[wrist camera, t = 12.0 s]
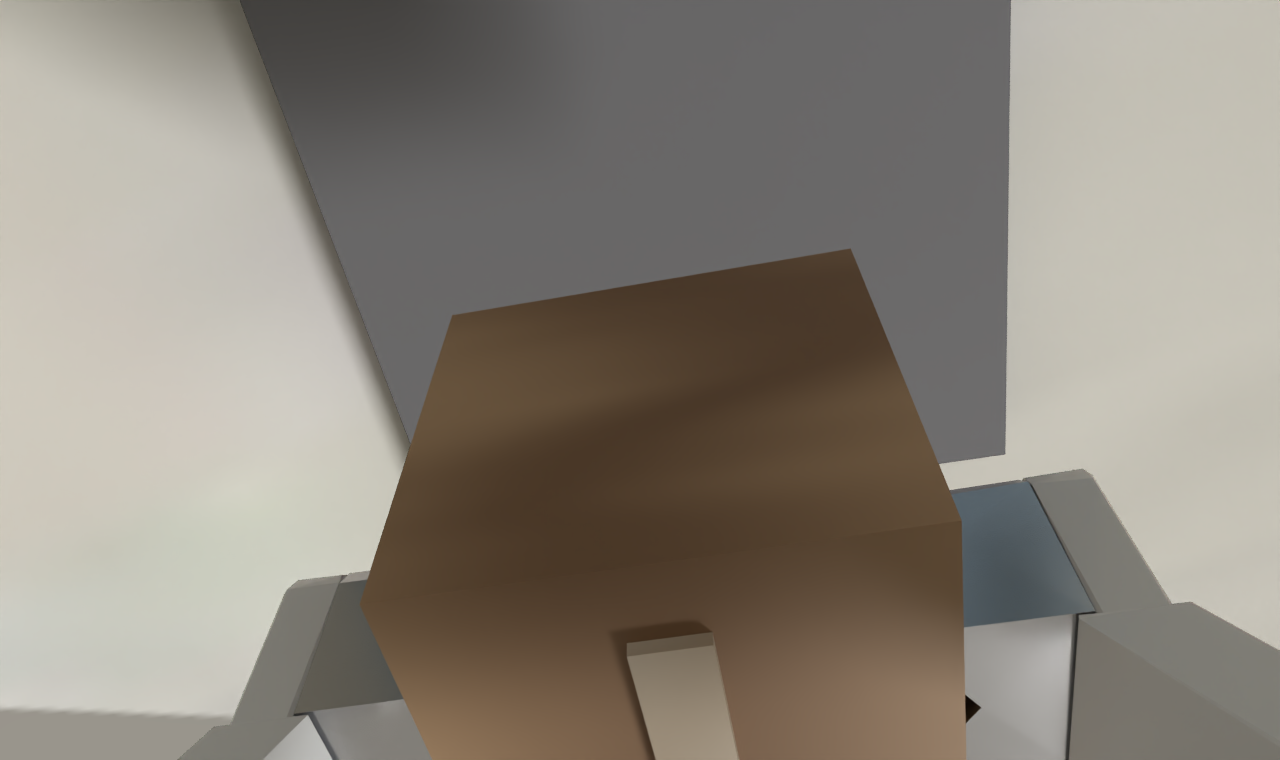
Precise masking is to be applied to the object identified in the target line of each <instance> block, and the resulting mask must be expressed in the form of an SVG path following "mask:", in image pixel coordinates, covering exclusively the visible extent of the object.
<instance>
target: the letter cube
mask: <svg viewBox="0 0 1280 760" xmlns="http://www.w3.org/2000/svg"><path fill="white" fill-rule="evenodd" d="M359 605H360V607H361V609H362V611H363V613H364V615H365V617H366V620H367V622H368V624H369V626H370V628H371V630H372V632H373V634H374V637H375V639H376V641H377V643H378V645H379V647H380V649H381V652H382V654H383V656H384V658H385V660H386V662H387V664H388V666H389V669H390V671H391V673H392V675H393V677H394V679H395V681H396V683H397V686H398V688H399V690H400V692H401V694H402V696H403V698H404V701H405V703H406V705H407V707H408V709H409V711H410V713H411V715H412V718H413V720H414V722H415V724H416V726H417V728H418V730H419V732H420V735H421V737H422V739H423V741H424V743H425V745H426V747H427V750H428V752H429V754H430V756H431V758H432V760H966V714H965V663H964V612H963V560H962V520H961V518H960V515H959V513H958V510H957V508H956V505H955V503H954V500H953V498H952V496H951V493H950V491H949V488H948V486H947V483H946V481H945V478H944V476H943V473H942V471H941V469H940V466H939V464H938V461H937V459H936V456H935V454H934V451H933V449H932V446H931V444H930V442H929V439H928V437H927V434H926V432H925V429H924V427H923V424H922V422H921V419H920V417H919V415H918V412H917V410H916V407H915V405H914V402H913V400H912V397H911V395H910V393H909V390H908V388H907V385H906V383H905V380H904V378H903V375H902V373H901V370H900V368H899V366H898V363H897V361H896V358H895V356H894V353H893V351H892V348H891V346H890V343H889V341H888V339H887V336H886V334H885V331H884V329H883V326H882V324H881V321H880V319H879V317H878V314H877V312H876V309H875V307H874V304H873V302H872V299H871V297H870V294H869V292H868V290H867V287H866V285H865V282H864V280H863V277H862V275H861V272H860V270H859V267H858V265H857V263H856V260H855V258H854V255H853V253H852V250H851V248H850V249H844V250H838V251H832V252H827V253H821V254H815V255H809V256H803V257H797V258H791V259H785V260H779V261H773V262H767V263H761V264H755V265H749V266H743V267H737V268H731V269H725V270H719V271H713V272H707V273H701V274H695V275H689V276H683V277H677V278H671V279H665V280H659V281H653V282H648V283H642V284H636V285H630V286H624V287H618V288H612V289H606V290H600V291H594V292H588V293H582V294H576V295H570V296H564V297H558V298H552V299H546V300H540V301H534V302H528V303H522V304H516V305H510V306H504V307H498V308H492V309H486V310H480V311H474V312H469V313H463V314H457V315H452V317H451V320H450V324H449V327H448V330H447V333H446V336H445V339H444V342H443V345H442V348H441V352H440V355H439V358H438V361H437V364H436V367H435V370H434V373H433V377H432V380H431V383H430V386H429V389H428V392H427V395H426V398H425V401H424V405H423V408H422V411H421V414H420V417H419V420H418V423H417V426H416V430H415V433H414V436H413V439H412V442H411V445H410V448H409V451H408V455H407V458H406V461H405V464H404V467H403V470H402V473H401V476H400V479H399V483H398V486H397V489H396V492H395V495H394V498H393V501H392V504H391V508H390V511H389V514H388V517H387V520H386V523H385V526H384V529H383V532H382V536H381V539H380V542H379V545H378V548H377V551H376V554H375V557H374V561H373V564H372V567H371V570H370V573H369V576H368V579H367V582H366V586H365V589H364V592H363V595H362V598H361V601H360V604H359Z"/></svg>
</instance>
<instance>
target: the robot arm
mask: <svg viewBox="0 0 1280 760" xmlns="http://www.w3.org/2000/svg"><path fill="white" fill-rule="evenodd" d="M949 491H950V493H951V496H952V498H953V500H954V503H955V505H956V508H957V510H958V513H959V515H960V518H961V520H962V560H963V612H964V663H965V714H966V760H1280V650H1278V649H1276V648H1274V647H1272V646H1271V645H1269V644H1267V643H1265V642H1263V641H1262V640H1260V639H1258V638H1256V637H1254V636H1252V635H1251V634H1249V633H1247V632H1245V631H1243V630H1242V629H1240V628H1238V627H1236V626H1234V625H1233V624H1231V623H1229V622H1227V621H1225V620H1223V619H1222V618H1220V617H1218V616H1216V615H1214V614H1213V613H1211V612H1209V611H1207V610H1205V609H1204V608H1202V607H1200V606H1198V605H1196V604H1194V603H1193V602H1185V603H1176V604H1172V603H1171V601H1170V600H1169V598H1168V597H1167V595H1166V593H1165V592H1164V590H1163V589H1162V587H1161V585H1160V584H1159V582H1158V580H1157V579H1156V577H1155V576H1154V574H1153V572H1152V571H1151V569H1150V568H1149V566H1148V564H1147V563H1146V561H1145V559H1144V558H1143V556H1142V555H1141V553H1140V551H1139V550H1138V548H1137V547H1136V545H1135V543H1134V542H1133V540H1132V538H1131V537H1130V535H1129V534H1128V532H1127V530H1126V529H1125V527H1124V525H1123V524H1122V522H1121V521H1120V519H1119V517H1118V516H1117V514H1116V513H1115V511H1114V509H1113V508H1112V506H1111V504H1110V503H1109V501H1108V500H1107V498H1106V496H1105V495H1104V493H1103V492H1102V490H1101V488H1100V487H1099V485H1098V483H1097V482H1096V480H1095V479H1094V477H1093V475H1091V474H1090V473H1088V472H1087V471H1085V470H1083V469H1078V470H1071V471H1065V472H1059V473H1053V474H1047V475H1040V476H1034V477H1028V478H1024V479H1023V480H1022V481H1021V480H1016V481H1009V482H1002V483H995V484H989V485H982V486H975V487H968V488H962V489H955V490H949ZM369 573H370V571H364V572H355V573H349V574H348V575H339V576H330V577H322V578H313V579H305V580H298V581H297V582H296V583H294V584H293V585H292V586H291V587H290V588H288V589H287V591H286V592H285V594H284V596H283V599H282V601H281V603H280V606H279V608H278V611H277V613H276V615H275V618H274V620H273V623H272V625H271V627H270V630H269V632H268V635H267V637H266V639H265V642H264V644H263V646H262V649H261V651H260V654H259V656H258V658H257V661H256V663H255V666H254V668H253V670H252V673H251V675H250V678H249V680H248V682H247V685H246V687H245V690H244V692H243V694H242V697H241V699H240V702H239V704H238V706H237V709H236V711H235V714H234V716H233V718H232V721H231V723H230V725H223V726H216V727H213V728H212V729H211V730H210V731H209V732H207V733H206V734H205V735H204V736H203V737H202V738H201V739H200V740H199V741H198V742H196V743H195V744H194V745H193V746H192V747H191V748H190V749H189V750H187V751H186V752H185V753H184V754H183V755H182V756H181V757H180V758H179V759H178V760H432V758H431V756H430V754H429V752H428V750H427V747H426V745H425V743H424V741H423V739H422V737H421V735H420V732H419V730H418V728H417V726H416V724H415V722H414V720H413V718H412V715H411V713H410V711H409V709H408V707H407V705H406V703H405V701H404V698H403V696H402V694H401V692H400V690H399V688H398V686H397V683H396V681H395V679H394V677H393V675H392V673H391V671H390V669H389V666H388V664H387V662H386V660H385V658H384V656H383V654H382V652H381V649H380V647H379V645H378V643H377V641H376V639H375V637H374V634H373V632H372V630H371V628H370V626H369V624H368V622H367V620H366V617H365V615H364V613H363V611H362V609H361V607H360V605H359V604H360V601H361V598H362V595H363V592H364V589H365V586H366V582H367V579H368V576H369Z"/></svg>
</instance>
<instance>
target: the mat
mask: <svg viewBox="0 0 1280 760" xmlns="http://www.w3.org/2000/svg"><path fill="white" fill-rule="evenodd" d="M240 2H241V5H242V7H243V10H244V13H245V15H246V18H247V20H248V23H249V26H250V28H251V31H252V33H253V36H254V39H255V41H256V44H257V46H258V49H259V52H260V54H261V57H262V59H263V62H264V65H265V67H266V70H267V72H268V75H269V78H270V80H271V83H272V85H273V88H274V91H275V93H276V96H277V98H278V101H279V104H280V106H281V109H282V111H283V114H284V117H285V119H286V122H287V124H288V127H289V130H290V132H291V135H292V137H293V140H294V143H295V145H296V148H297V150H298V153H299V156H300V158H301V161H302V163H303V166H304V169H305V171H306V174H307V176H308V179H309V182H310V184H311V187H312V189H313V192H314V195H315V197H316V200H317V202H318V205H319V208H320V210H321V213H322V215H323V218H324V221H325V223H326V226H327V228H328V231H329V234H330V236H331V239H332V241H333V244H334V246H335V249H336V252H337V254H338V257H339V259H340V262H341V265H342V267H343V270H344V272H345V275H346V278H347V280H348V283H349V285H350V288H351V291H352V293H353V296H354V298H355V301H356V304H357V306H358V309H359V311H360V314H361V317H362V319H363V322H364V324H365V327H366V330H367V332H368V335H369V337H370V340H371V343H372V345H373V348H374V350H375V353H376V356H377V358H378V361H379V363H380V366H381V369H382V371H383V374H384V376H385V379H386V382H387V384H388V387H389V389H390V392H391V395H392V397H393V400H394V402H395V405H396V408H397V410H398V413H399V415H400V418H401V421H402V423H403V426H404V428H405V431H406V434H407V436H408V439H409V441H410V444H411V442H412V439H413V436H414V433H415V430H416V426H417V423H418V420H419V417H420V414H421V411H422V408H423V405H424V401H425V398H426V395H427V392H428V389H429V386H430V383H431V380H432V377H433V373H434V370H435V367H436V364H437V361H438V358H439V355H440V352H441V348H442V345H443V342H444V339H445V336H446V333H447V330H448V327H449V324H450V320H451V317H452V315H457V314H463V313H469V312H474V311H480V310H486V309H492V308H498V307H504V306H510V305H516V304H522V303H528V302H534V301H540V300H546V299H552V298H558V297H564V296H570V295H576V294H582V293H588V292H594V291H600V290H606V289H612V288H618V287H624V286H630V285H636V284H642V283H648V282H653V281H659V280H665V279H671V278H677V277H683V276H689V275H695V274H701V273H707V272H713V271H719V270H725V269H731V268H737V267H743V266H749V265H755V264H761V263H767V262H773V261H779V260H785V259H791V258H797V257H803V256H809V255H815V254H821V253H827V252H832V251H838V250H844V249H850V248H851V250H852V253H853V255H854V258H855V260H856V263H857V265H858V267H859V270H860V272H861V275H862V277H863V280H864V282H865V285H866V287H867V290H868V292H869V294H870V297H871V299H872V302H873V304H874V307H875V309H876V312H877V314H878V317H879V319H880V321H881V324H882V326H883V329H884V331H885V334H886V336H887V339H888V341H889V343H890V346H891V348H892V351H893V353H894V356H895V358H896V361H897V363H898V366H899V368H900V370H901V373H902V375H903V378H904V380H905V383H906V385H907V388H908V390H909V393H910V395H911V397H912V400H913V402H914V405H915V407H916V410H917V412H918V415H919V417H920V419H921V422H922V424H923V427H924V429H925V432H926V434H927V437H928V439H929V442H930V444H931V446H932V449H933V451H934V454H935V456H936V459H937V461H938V464H941V463H948V462H955V461H962V460H969V459H976V458H983V457H990V456H997V455H1004V454H1005V431H1006V348H1007V265H1008V182H1009V99H1010V16H1011V0H240Z"/></svg>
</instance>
